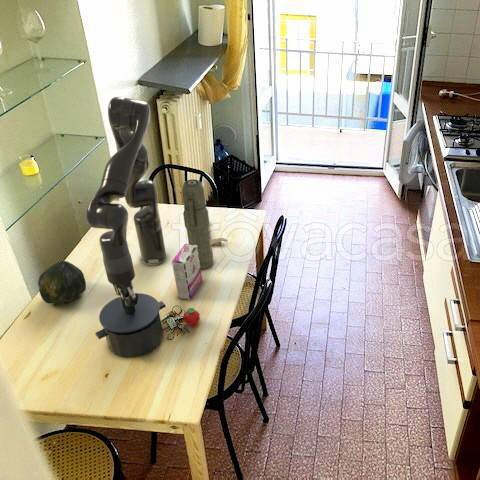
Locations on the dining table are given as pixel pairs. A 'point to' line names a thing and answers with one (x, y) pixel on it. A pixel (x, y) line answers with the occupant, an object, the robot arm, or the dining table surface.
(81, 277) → the squash
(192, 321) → the strawberry
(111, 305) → the lid
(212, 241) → the jawbone
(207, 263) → the thermos
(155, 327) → the pot
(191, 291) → the candy bar box
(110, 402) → the dining table surface
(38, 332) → the dining table surface
